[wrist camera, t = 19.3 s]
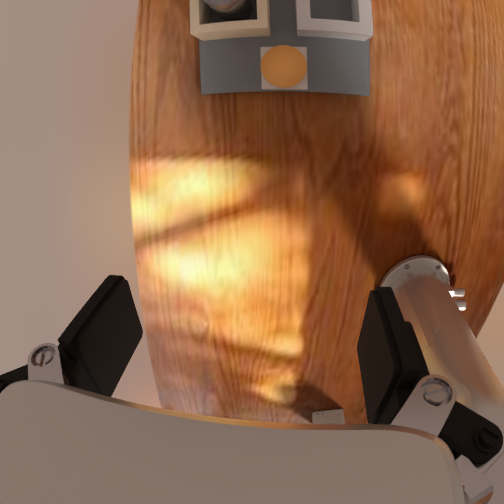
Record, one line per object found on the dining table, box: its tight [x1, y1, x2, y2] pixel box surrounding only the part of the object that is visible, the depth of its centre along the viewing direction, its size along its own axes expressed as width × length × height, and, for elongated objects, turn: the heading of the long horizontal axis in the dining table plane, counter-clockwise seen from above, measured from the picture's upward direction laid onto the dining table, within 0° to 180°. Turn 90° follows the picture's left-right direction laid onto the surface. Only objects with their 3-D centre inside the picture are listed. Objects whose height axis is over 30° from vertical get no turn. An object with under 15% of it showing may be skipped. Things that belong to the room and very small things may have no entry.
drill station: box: [190, 0, 373, 96], centre depth 27 cm, size 20×16×6 cm
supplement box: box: [312, 409, 345, 424], centre depth 59 cm, size 7×7×13 cm
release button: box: [261, 45, 307, 88], centre depth 28 cm, size 4×4×6 cm
